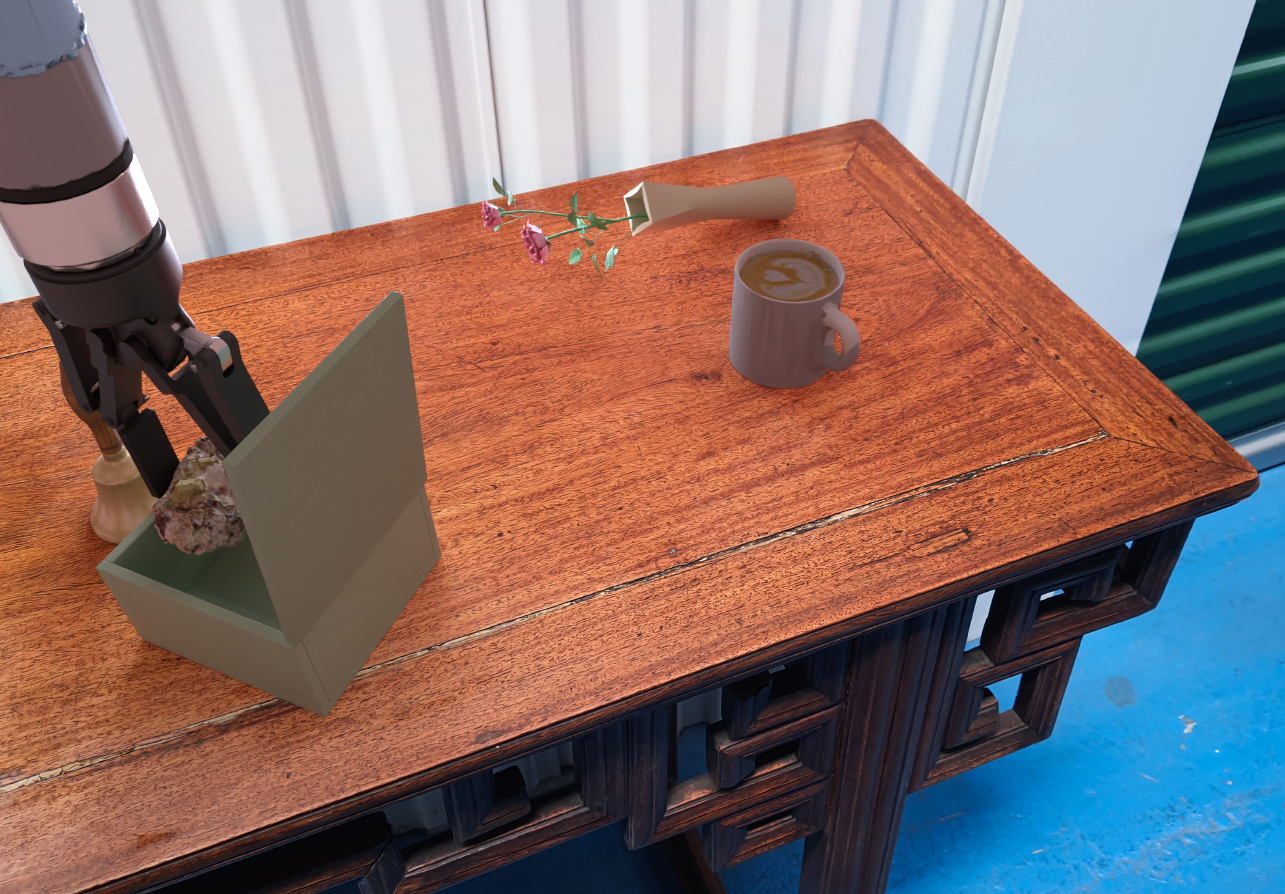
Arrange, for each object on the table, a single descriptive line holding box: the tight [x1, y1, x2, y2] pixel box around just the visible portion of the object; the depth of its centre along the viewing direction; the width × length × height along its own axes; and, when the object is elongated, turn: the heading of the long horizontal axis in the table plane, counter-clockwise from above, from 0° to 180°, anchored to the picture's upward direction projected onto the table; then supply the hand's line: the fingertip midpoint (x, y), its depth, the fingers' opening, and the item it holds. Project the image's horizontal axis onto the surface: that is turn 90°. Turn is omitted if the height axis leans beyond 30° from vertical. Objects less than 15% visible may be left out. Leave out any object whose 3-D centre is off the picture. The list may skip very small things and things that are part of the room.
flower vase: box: [480, 175, 797, 279], centre depth 106 cm, size 12×12×35 cm
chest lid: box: [222, 290, 428, 647], centre depth 62 cm, size 17×16×1 cm
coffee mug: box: [728, 238, 861, 390], centre depth 92 cm, size 13×10×10 cm
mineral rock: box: [150, 436, 248, 556], centre depth 71 cm, size 11×4×8 cm
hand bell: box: [58, 360, 166, 545], centre depth 78 cm, size 8×8×16 cm
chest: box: [95, 484, 442, 718], centre depth 74 cm, size 17×16×9 cm
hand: (217, 502), depth 71 cm, fingers closed on mineral rock, 8 cm apart
